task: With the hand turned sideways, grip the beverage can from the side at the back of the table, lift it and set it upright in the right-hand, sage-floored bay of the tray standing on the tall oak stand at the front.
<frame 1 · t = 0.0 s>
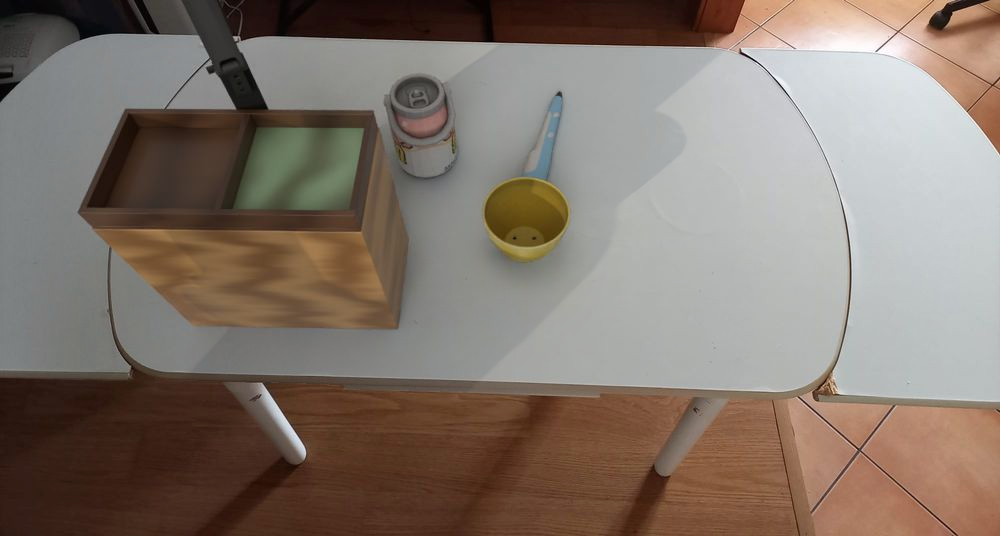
hand: (236, 70, 63), 21 cm above the table, tool pointing down, fingers open, 13 cm apart
flower pot: (525, 245, 77), on the table
stand: (304, 281, 74), on the table
beverage can: (429, 162, 84), on the table
pen: (543, 146, 85), on the table
tray: (242, 175, 57), resting on stand
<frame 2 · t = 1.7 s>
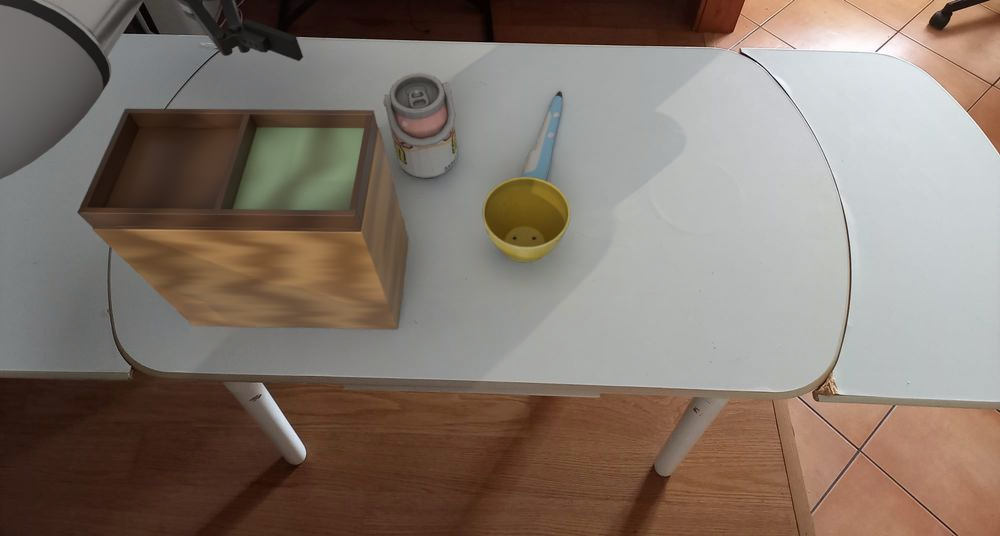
hand: (334, 11, 68), 21 cm above the table, tool horizontal, fingers open, 13 cm apart
nothing on the table moved.
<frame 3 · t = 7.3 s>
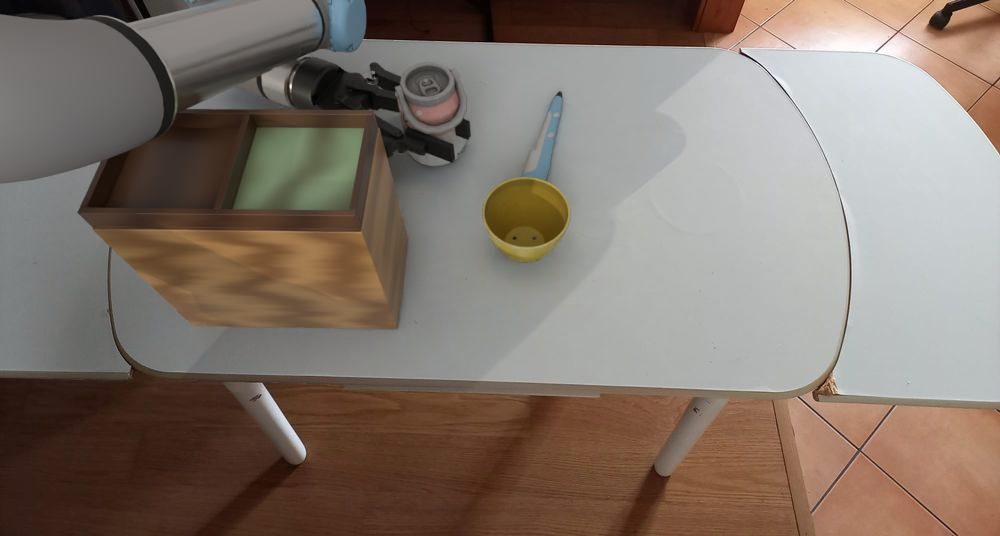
hand: (460, 141, 77), 7 cm above the table, tool horizontal, fingers closed on beverage can, 3 cm apart
beverage can: (438, 151, 85), on the table, touching gripper
everything else where it was.
when the fingers open (28 cm above the table, at t = 15.8 s): beverage can drops 1 cm, point 21 cm above the table.
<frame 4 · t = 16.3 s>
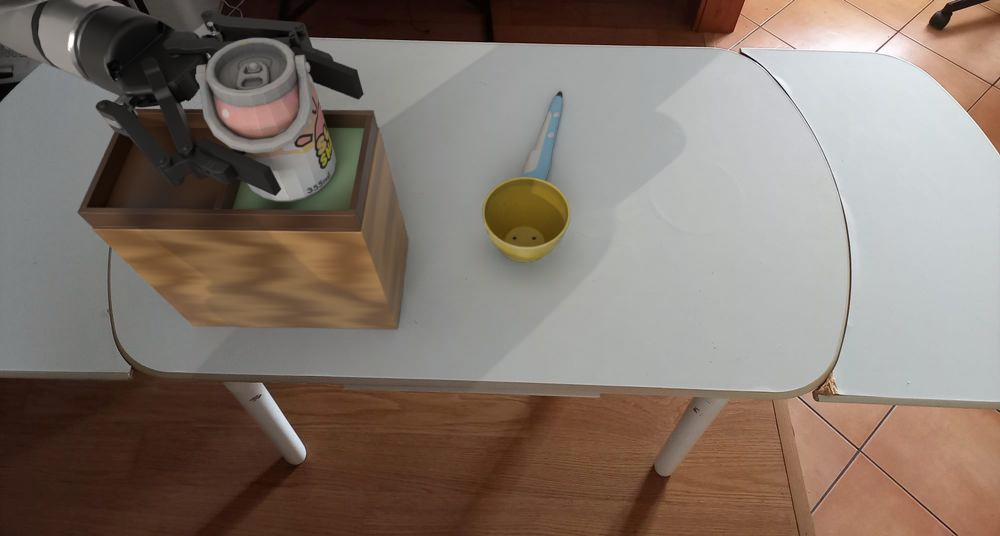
hand: (317, 131, 49), 28 cm above the table, tool horizontal, fingers open, 11 cm apart
beverage can: (293, 178, 56), point 21 cm above the table, touching gripper
everything else where it was.
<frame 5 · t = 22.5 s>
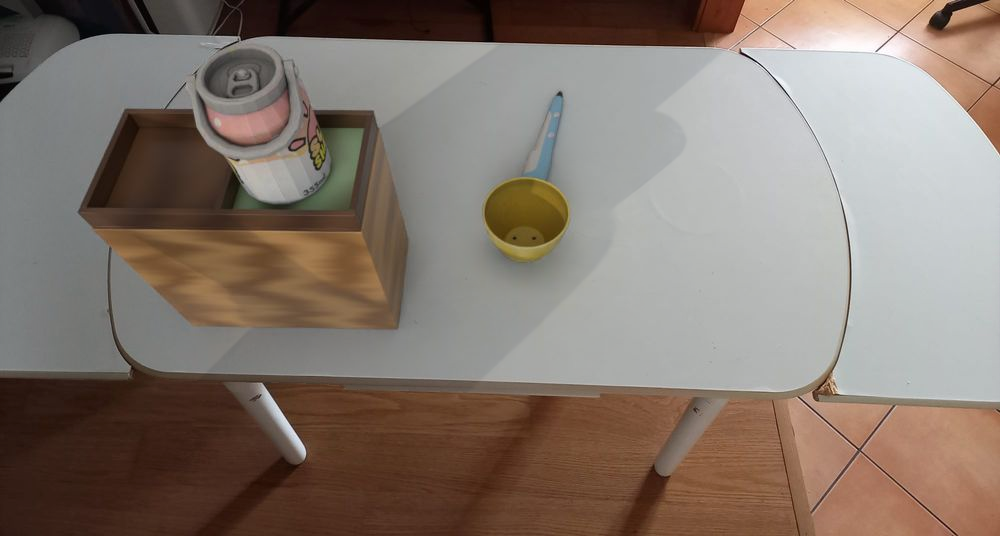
beverage can: (290, 180, 56), point 20 cm above the table, touching tray
everything else where it was.
at the end: beverage can 1.4 cm from the target spot on the tray, point 0.4 cm above the tray's base; beverage can tilted 0°; the gripper is holding nothing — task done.
